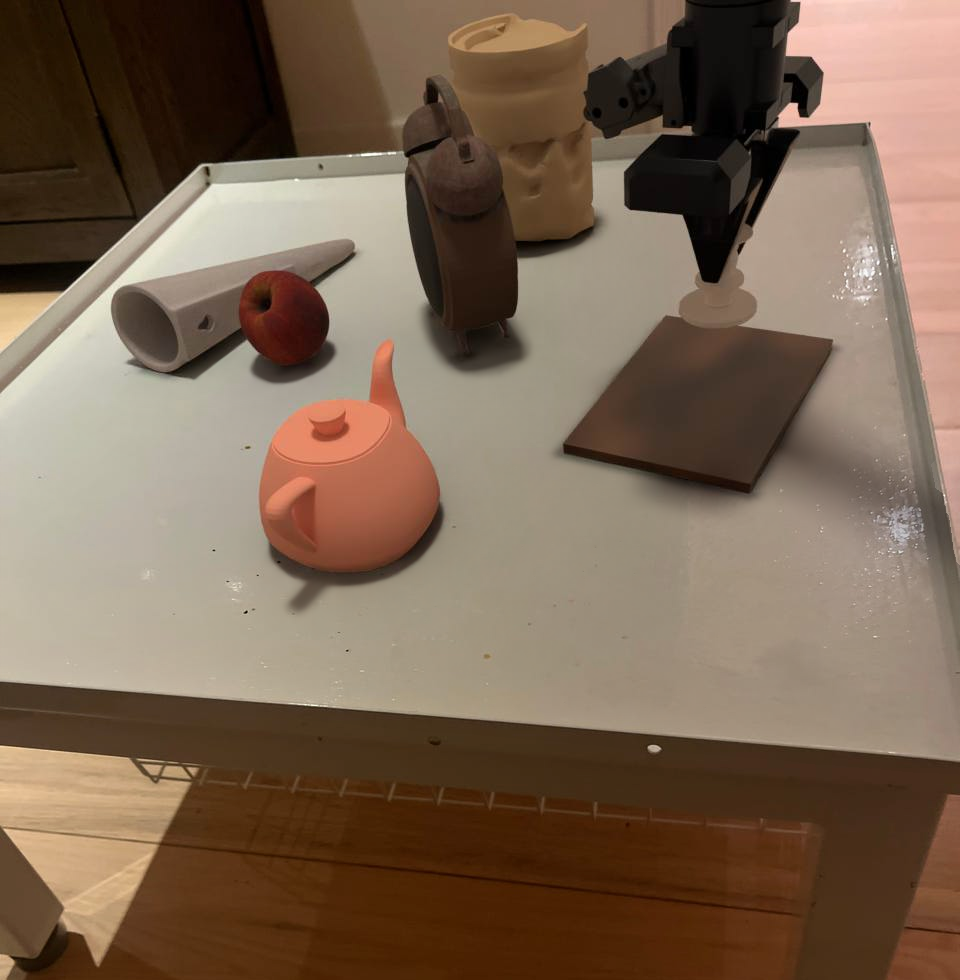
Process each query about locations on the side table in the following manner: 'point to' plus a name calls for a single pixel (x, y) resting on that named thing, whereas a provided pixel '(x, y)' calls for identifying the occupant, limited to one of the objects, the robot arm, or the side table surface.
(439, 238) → the alarm clock
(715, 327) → the candle
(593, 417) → the walnut board
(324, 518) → the teapot
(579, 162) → the container
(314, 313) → the apple
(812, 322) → the side table surface
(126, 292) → the planter
